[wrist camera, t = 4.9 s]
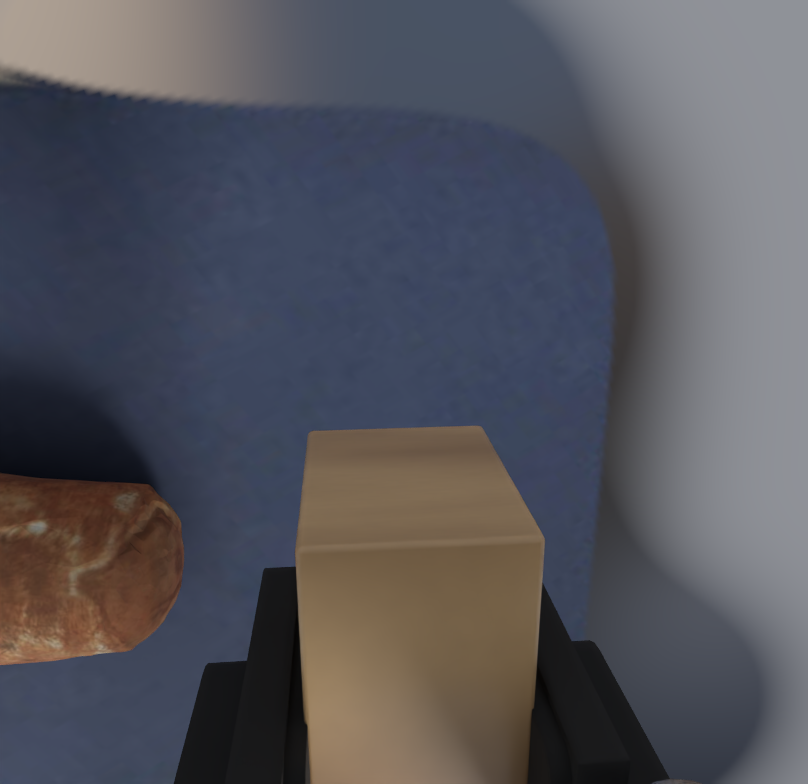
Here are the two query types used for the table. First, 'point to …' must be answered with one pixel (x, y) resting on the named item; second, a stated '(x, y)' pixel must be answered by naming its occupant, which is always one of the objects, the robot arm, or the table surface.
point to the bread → (83, 567)
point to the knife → (416, 608)
